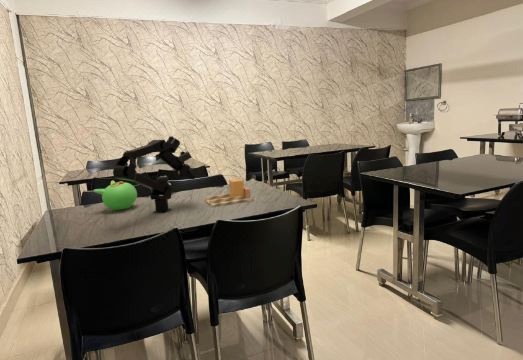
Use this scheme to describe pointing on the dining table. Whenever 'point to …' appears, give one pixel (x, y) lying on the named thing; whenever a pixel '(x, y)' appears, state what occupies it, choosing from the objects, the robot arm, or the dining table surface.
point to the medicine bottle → (164, 180)
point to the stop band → (247, 192)
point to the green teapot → (118, 195)
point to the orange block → (236, 187)
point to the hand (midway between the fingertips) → (194, 178)
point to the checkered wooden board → (225, 200)
